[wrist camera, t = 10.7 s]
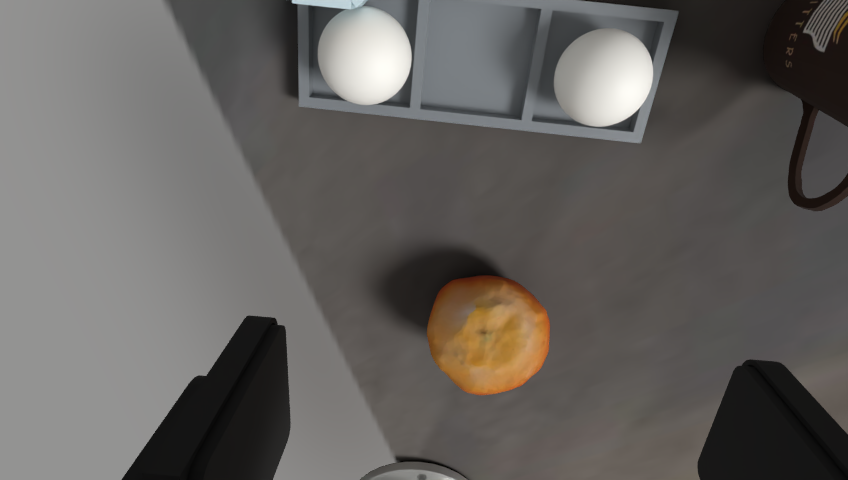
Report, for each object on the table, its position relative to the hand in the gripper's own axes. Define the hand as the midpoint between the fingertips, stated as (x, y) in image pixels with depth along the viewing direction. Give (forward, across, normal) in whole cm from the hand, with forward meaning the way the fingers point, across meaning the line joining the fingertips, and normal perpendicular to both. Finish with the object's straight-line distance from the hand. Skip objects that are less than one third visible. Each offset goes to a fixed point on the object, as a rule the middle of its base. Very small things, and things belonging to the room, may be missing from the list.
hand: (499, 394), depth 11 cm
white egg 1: (+23, +6, -4) cm, 24 cm away
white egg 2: (+23, -7, -4) cm, 24 cm away
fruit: (+24, -2, +12) cm, 27 cm away
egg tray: (+24, 0, -5) cm, 24 cm away
